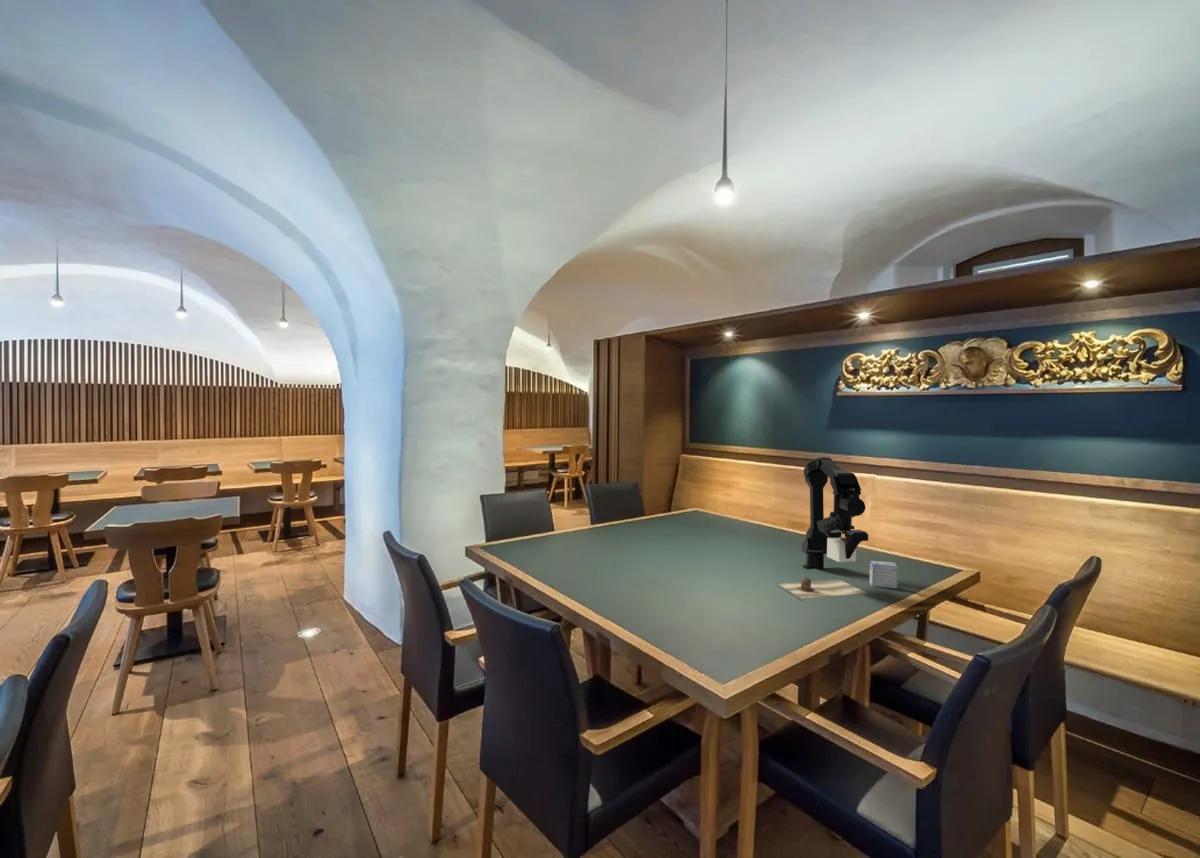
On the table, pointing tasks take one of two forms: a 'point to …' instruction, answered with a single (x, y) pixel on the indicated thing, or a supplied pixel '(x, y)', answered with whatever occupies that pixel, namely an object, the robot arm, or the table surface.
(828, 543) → the knobbed cube
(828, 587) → the tan board
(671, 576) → the table surface
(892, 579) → the medicine box
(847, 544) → the robot arm
